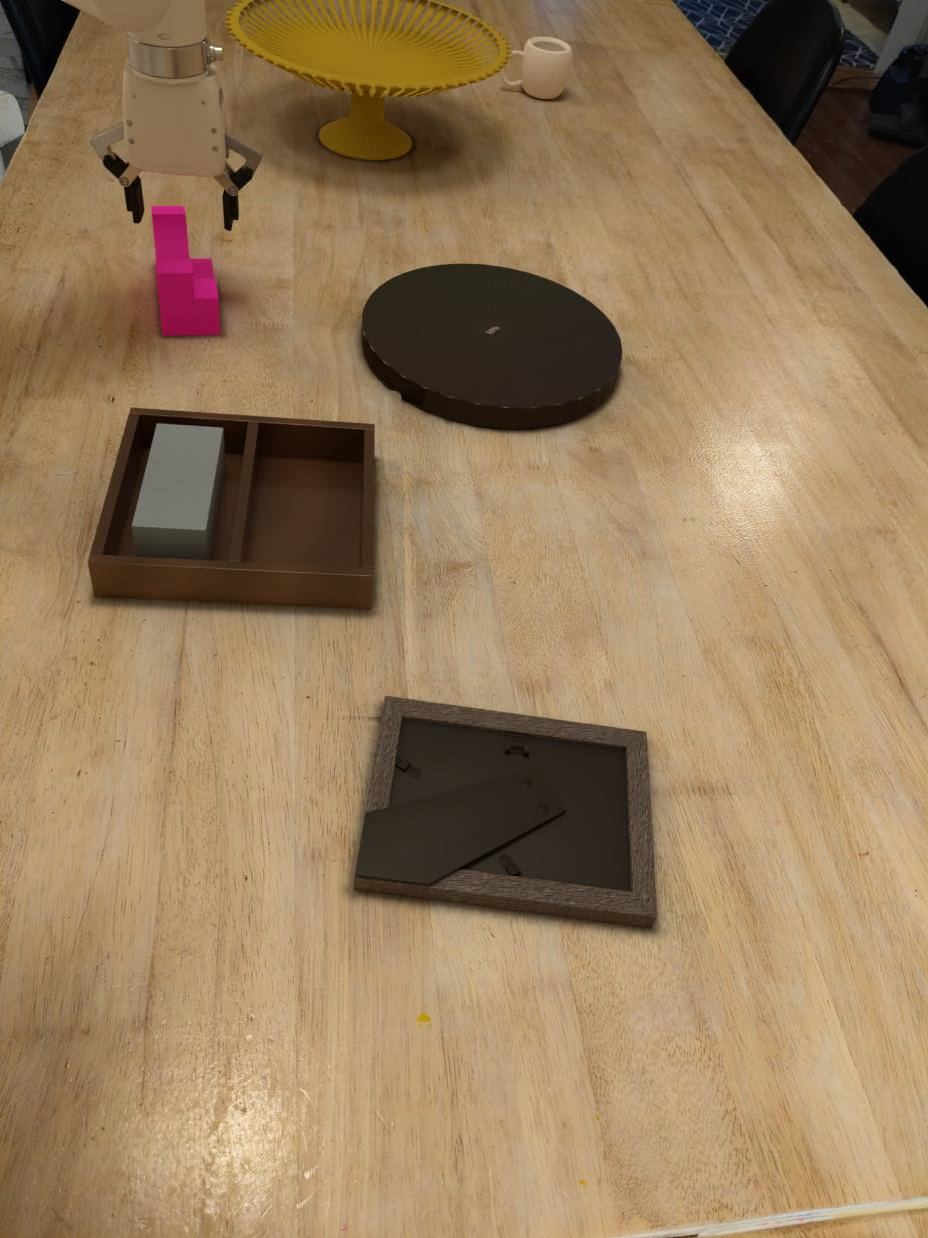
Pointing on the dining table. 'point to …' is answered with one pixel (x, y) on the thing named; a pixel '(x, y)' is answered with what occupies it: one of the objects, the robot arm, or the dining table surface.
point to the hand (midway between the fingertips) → (184, 221)
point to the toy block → (182, 278)
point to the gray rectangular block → (180, 493)
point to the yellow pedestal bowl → (369, 62)
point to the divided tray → (253, 516)
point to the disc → (490, 345)
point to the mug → (543, 67)
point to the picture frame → (510, 813)
